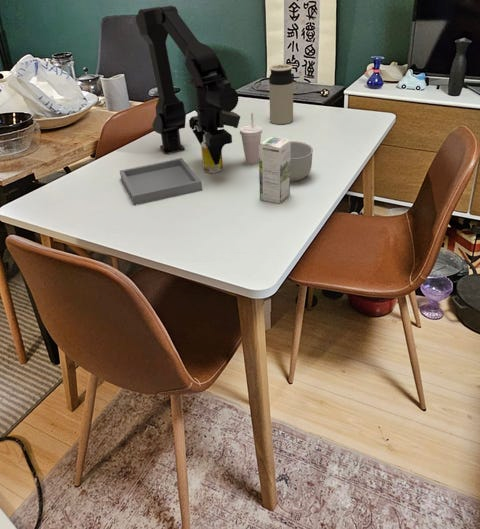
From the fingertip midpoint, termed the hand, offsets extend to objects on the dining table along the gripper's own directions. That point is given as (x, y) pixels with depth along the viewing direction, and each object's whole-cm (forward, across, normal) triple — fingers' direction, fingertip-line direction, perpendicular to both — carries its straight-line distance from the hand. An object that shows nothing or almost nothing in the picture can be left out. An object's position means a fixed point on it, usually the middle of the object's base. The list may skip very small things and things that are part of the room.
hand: (212, 159), depth 137 cm
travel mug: (+3, +28, -35) cm, 45 cm away
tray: (+3, -2, +16) cm, 16 cm away
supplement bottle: (+3, 0, 0) cm, 3 cm away
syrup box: (+3, -24, -8) cm, 25 cm away
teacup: (+3, -14, -16) cm, 22 cm away
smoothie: (+3, 0, -12) cm, 12 cm away
